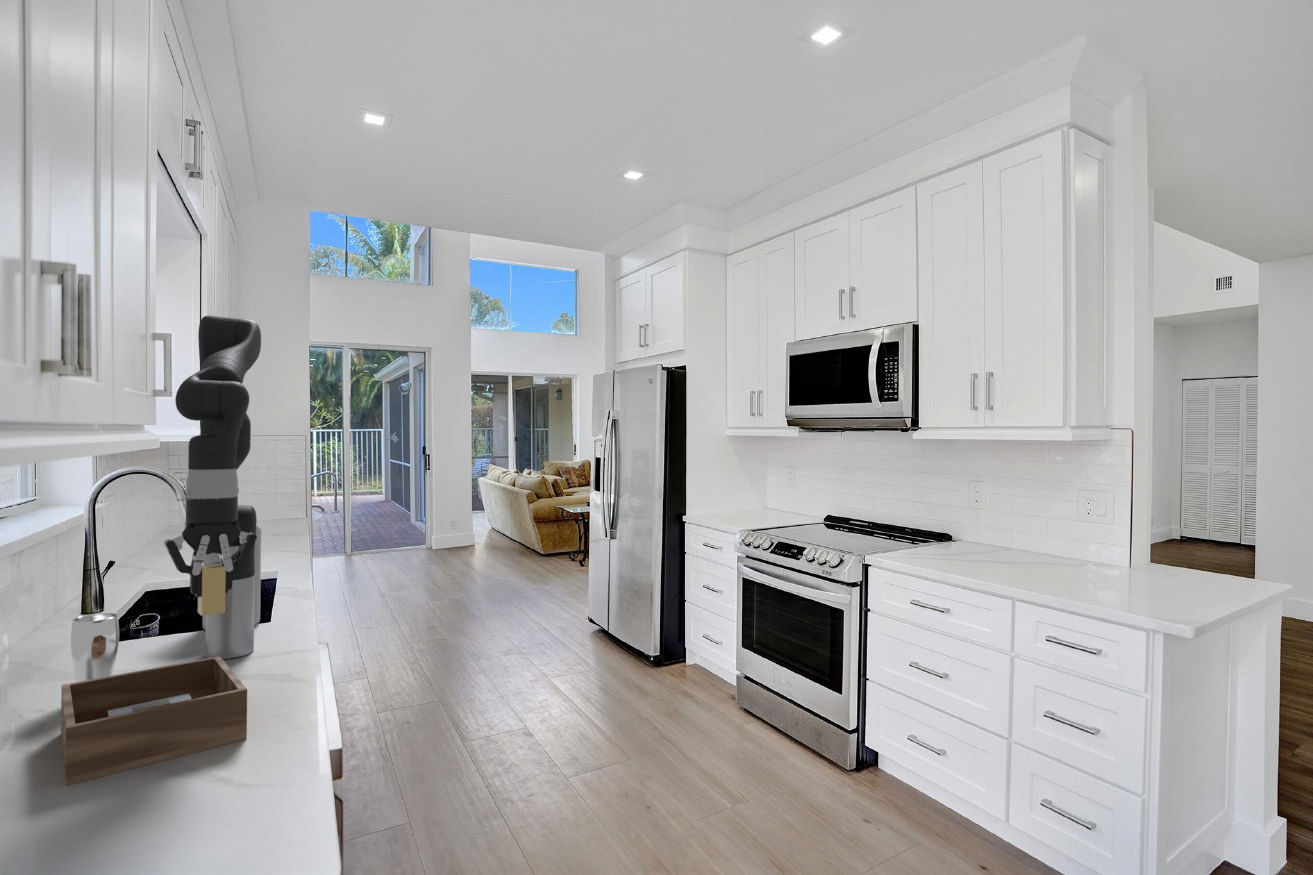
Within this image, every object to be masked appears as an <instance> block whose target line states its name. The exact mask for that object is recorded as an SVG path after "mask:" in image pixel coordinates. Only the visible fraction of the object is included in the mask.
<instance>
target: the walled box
mask: <svg viewBox="0 0 1313 875" xmlns="http://www.w3.org/2000/svg"><path fill="white" fill-rule="evenodd" d="M60 696H61V697H60V698H61V701H60V702H61V703H60V705H61V706H60V707H61V710H60V711H61V712H60V714H61V715H60V716H61V717H60V719H61V720H60V738H61V748H62V749H61V750H62V761H63V771H64V772H63V773H64V774H63V775H64V783H65V784H64V785H65V786H70V785H74V784H78V783H81V782H85V781H88V780H93V779H97V778H100V777H103V776H108V775H112V774H116V773H120V772H123V771H127V770H132V769H136V768H140V767H144V766H147V765H151V764H155V763H158V762H162V761H163V762H164V761H167V760H170V759H171V760H172V759H173V758H178V757H182V756H185V755H190V754H194V753H198V752H201V751H205V750H210V749H212V748H216V747H219V746H220V745H221V746H224V745H228V744H232V743H235V742H240V741H243V740H244V741H245V740H247V737H248V734H247V733H248V731H247V730H248V688H247V687H246V686H245V685H244V684H243V683H242V681H241V680H240V679H239V678H238V676H237V675H236V674H235V672H234V671H232V669H231V668H230V666H228V664H227V663H226V662H225V661H224V659H222V658H221V657H220V656H218V657H212V658H202V659H197V660H192V661H186V662H180V663H174V664H170V665H164V666H163V665H162V666H159V667H157V666H156V667H153V668H147V669H142V670H141V669H140V670H136V671H131V672H125V673H120V674H119V673H118V674H113V676H108V677H102V678H97V679H91V680H86V681H80V682H76V681H75V682H70V683H65V684H61V694H60ZM204 749H205V750H204ZM197 751H198V752H197Z"/></svg>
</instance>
